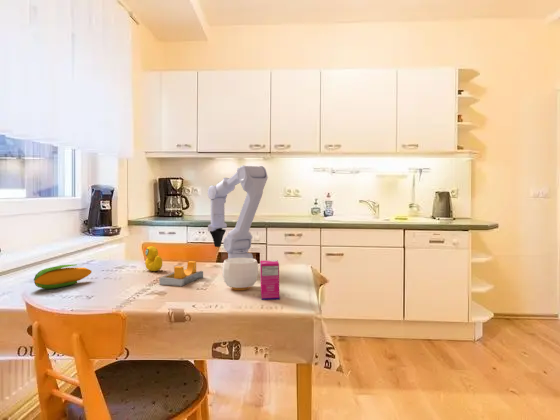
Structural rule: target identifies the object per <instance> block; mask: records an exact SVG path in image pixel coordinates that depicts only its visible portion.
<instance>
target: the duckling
mask: <svg viewBox="0 0 560 420" xmlns="http://www.w3.org/2000/svg"><path fill="white" fill-rule="evenodd" d="M144 254H145V256H146V259H145V261H144V264H145V268H146V269H147V270H148V271H150V272H157V271H160V270H161V269H162V267H163V259H162V257H161V256H159V255H158V254H159V251H158V248H157V247H156V246H151V245H150V246H147V247H145V248H144Z"/></svg>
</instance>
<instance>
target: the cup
mask: <svg viewBox="0 0 560 420" xmlns="http://www.w3.org/2000/svg"><path fill="white" fill-rule="evenodd" d="M258 264H259V263H258V261H257V259H255V258H253V259H252V258H230V259H228V258H226V259H224V260H223V263H222V267H221V271H222V272H221V274H222V278H223V282H224V283H225V285H226V286H227V287H229V288H231V289H232V290H233V291H247V290H249V289H250V288H251V287H253V286H254V285H255V284H256V282H257V280H258V275H259V265H258Z"/></svg>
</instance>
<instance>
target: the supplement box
mask: <svg viewBox="0 0 560 420" xmlns="http://www.w3.org/2000/svg"><path fill="white" fill-rule="evenodd" d="M259 270H260V273H259V275H260V276H259V277H260V296H261V300H262V301H266V300H267V301H269V300H270V301H271V300H275V301H277V300H280V299H281V298H280V263H279V261H278V260H277V259H271V260H269V259H268V260H265V259H263V260H260V265H259Z"/></svg>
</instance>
